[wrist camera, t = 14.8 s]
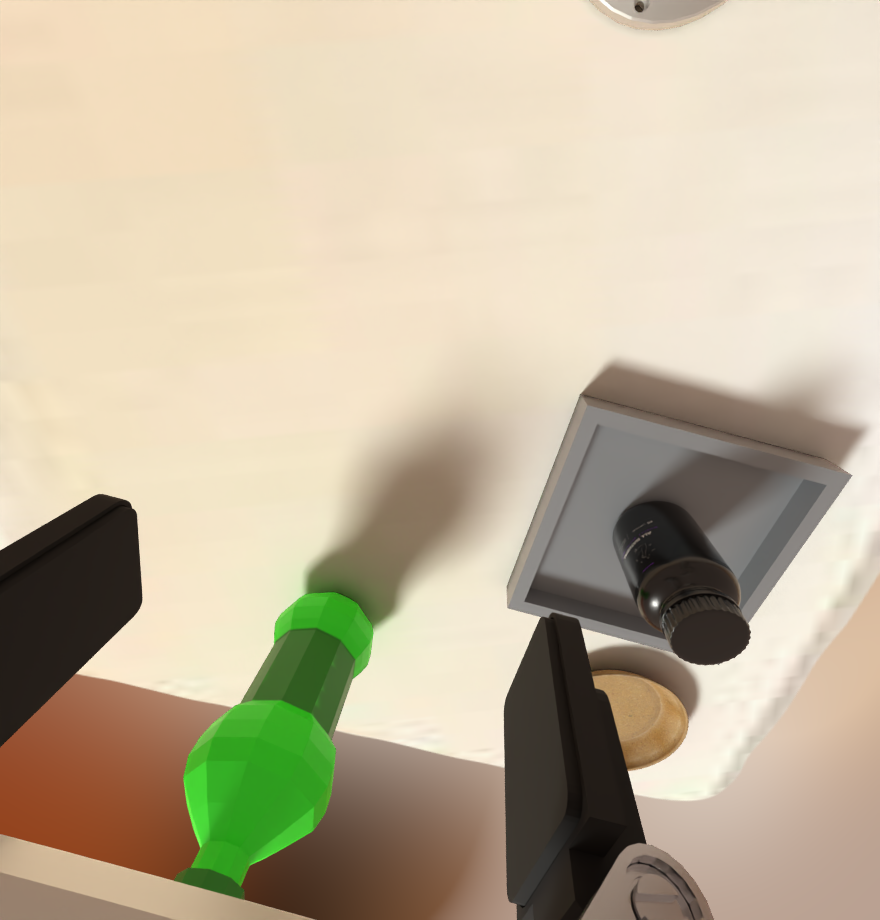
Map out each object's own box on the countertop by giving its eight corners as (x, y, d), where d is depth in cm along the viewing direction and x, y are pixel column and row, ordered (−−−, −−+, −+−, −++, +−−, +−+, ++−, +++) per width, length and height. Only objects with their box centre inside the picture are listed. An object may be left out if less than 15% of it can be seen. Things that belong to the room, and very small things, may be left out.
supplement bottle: (612, 498, 38) (659, 593, 27) (698, 496, 37) (783, 594, 26) (607, 565, 41) (648, 675, 30) (687, 565, 40) (759, 679, 29)
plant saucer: (696, 663, 46) (707, 685, 43) (660, 757, 52) (669, 781, 49) (548, 645, 47) (551, 666, 44) (530, 739, 53) (532, 762, 50)
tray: (580, 394, 36) (587, 405, 33) (825, 459, 36) (852, 475, 33) (506, 586, 44) (507, 608, 41) (705, 639, 44) (719, 664, 41)
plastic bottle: (324, 659, 51) (185, 979, 28) (271, 589, 48) (66, 887, 25) (400, 635, 48) (316, 968, 25) (350, 559, 45) (201, 863, 22)
